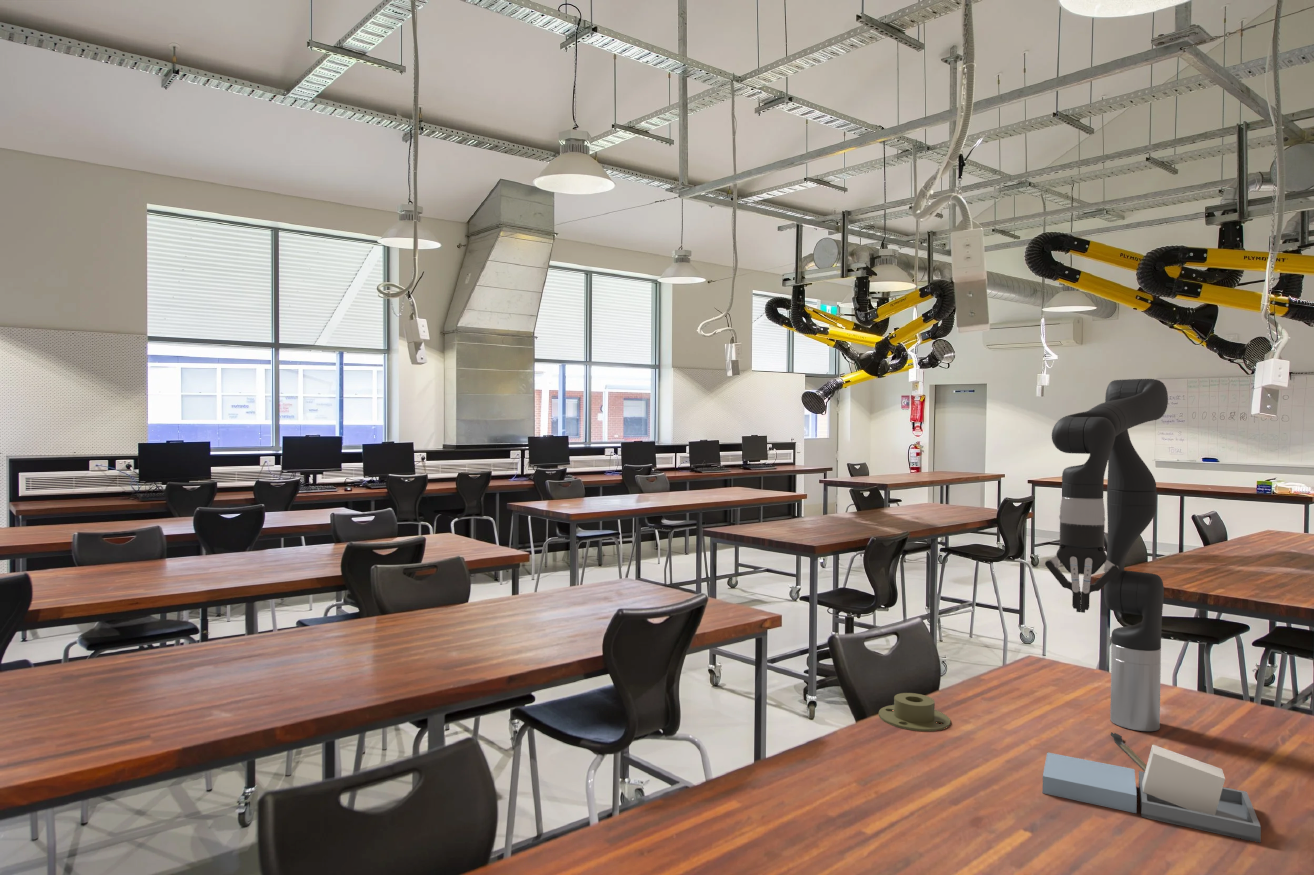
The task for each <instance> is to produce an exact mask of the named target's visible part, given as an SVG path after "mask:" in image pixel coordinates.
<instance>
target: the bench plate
mask: <svg viewBox="0 0 1314 875" xmlns="http://www.w3.org/2000/svg"><path fill="white" fill-rule="evenodd" d="M1136 782H1137V781H1136V770H1135V768H1131V767H1126V766H1125V767H1124V766H1120V765H1115V764H1111V763H1110V764H1109V763H1103V762H1099V761H1094V760H1090V759H1085V758H1078V757H1073V756H1067V755H1063V754H1058V753H1053V752H1049V751H1048V752H1047V753H1046V757H1045V762H1044V767H1043V774H1042V794H1045V795H1050V796H1053V797H1059V798H1064V799H1067V800H1074V801H1077V802H1081V803H1086V804H1091V805H1097V806H1102V807H1104V808H1105V807H1106V808H1109V809H1115V810H1120V811H1124V812H1127V813H1128V812H1129V813H1133V814H1137V805H1138V803H1137V800H1138V799H1137V798H1138V796H1137V795H1138V793H1137V784H1136Z"/></svg>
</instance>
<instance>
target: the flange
mask: <svg viewBox="0 0 1314 875" xmlns="http://www.w3.org/2000/svg"><path fill="white" fill-rule="evenodd" d="M893 700H894V701H893V704H892V705H891V704H890V705H886V706H884V707H881V708H880V709H879V711H878V718H879V719H880V720H882V721H883V723H886V724H888V725H890V726H893V727H895V728H900V729H902V730H908V731H913V732H914V731H915V732H937V731H936V730H939V731H942V729H943V730H945V729H944V728H946V727H948V726H949V725H950V726H951V719H950V717H949V716H948V715H947V714H945V713H944V712H941V711H939V710H936V708H935V704H936V701H935V699H933V697H930V696H927V695H924V694H921V693H914V692H901V693H900V692H899V693H897V694H895V695H894V697H893ZM892 710H894V711H892ZM936 722H938V723H936ZM939 723H942V724H939ZM950 726H949V727H950ZM949 727H948V728H949ZM946 729H947V728H946Z"/></svg>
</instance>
